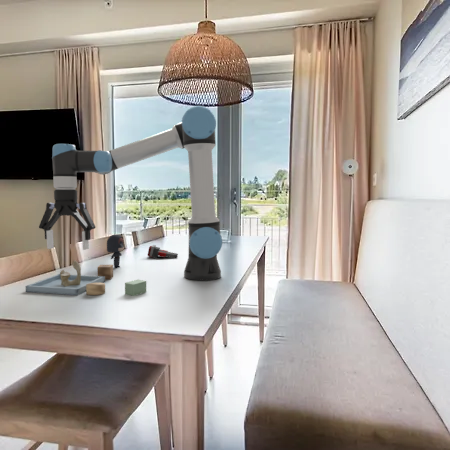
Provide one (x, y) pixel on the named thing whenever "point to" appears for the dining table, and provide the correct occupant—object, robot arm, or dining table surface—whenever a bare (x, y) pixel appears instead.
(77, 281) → the beige curved figurine
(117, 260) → the toy
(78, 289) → the tray
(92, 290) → the oak disc
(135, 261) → the dining table surface
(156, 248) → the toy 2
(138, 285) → the green painted block
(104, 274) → the walnut cube
